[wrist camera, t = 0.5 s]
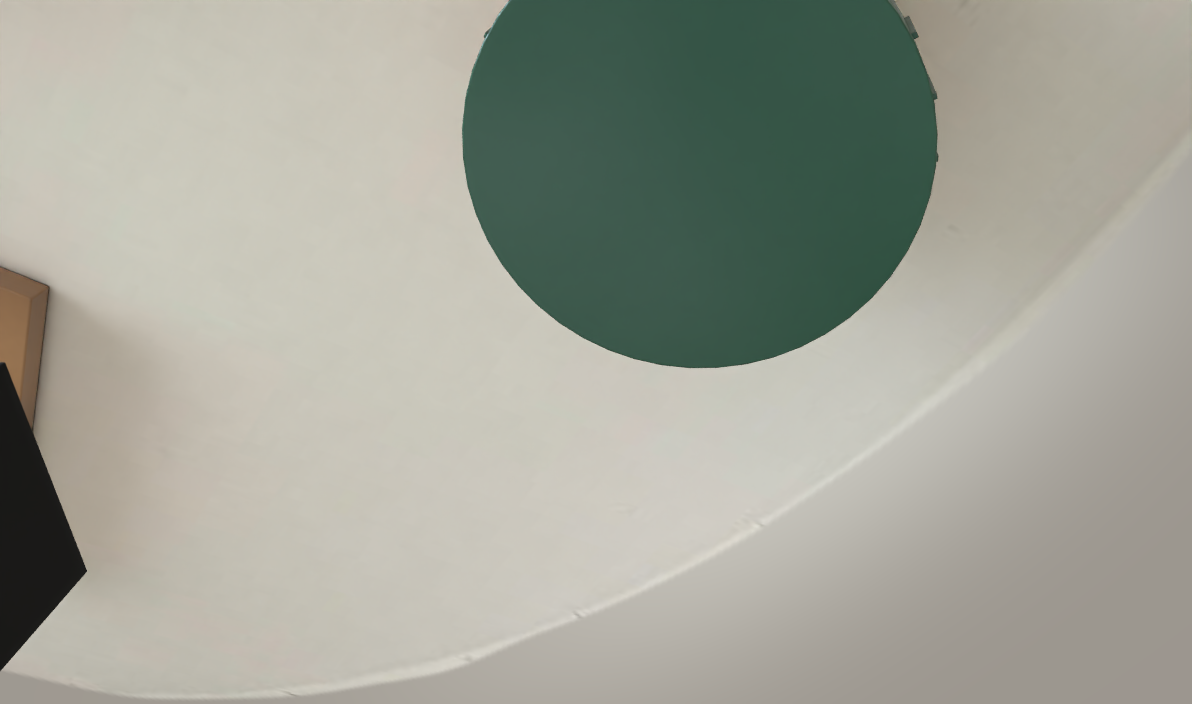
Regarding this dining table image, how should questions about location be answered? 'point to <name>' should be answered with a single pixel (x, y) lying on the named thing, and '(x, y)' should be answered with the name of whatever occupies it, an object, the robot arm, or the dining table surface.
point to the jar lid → (700, 166)
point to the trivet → (22, 333)
